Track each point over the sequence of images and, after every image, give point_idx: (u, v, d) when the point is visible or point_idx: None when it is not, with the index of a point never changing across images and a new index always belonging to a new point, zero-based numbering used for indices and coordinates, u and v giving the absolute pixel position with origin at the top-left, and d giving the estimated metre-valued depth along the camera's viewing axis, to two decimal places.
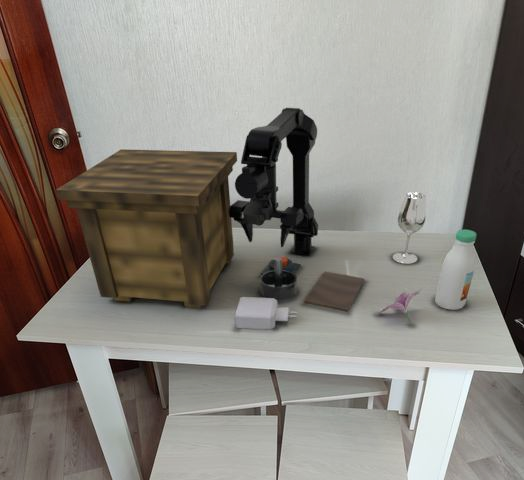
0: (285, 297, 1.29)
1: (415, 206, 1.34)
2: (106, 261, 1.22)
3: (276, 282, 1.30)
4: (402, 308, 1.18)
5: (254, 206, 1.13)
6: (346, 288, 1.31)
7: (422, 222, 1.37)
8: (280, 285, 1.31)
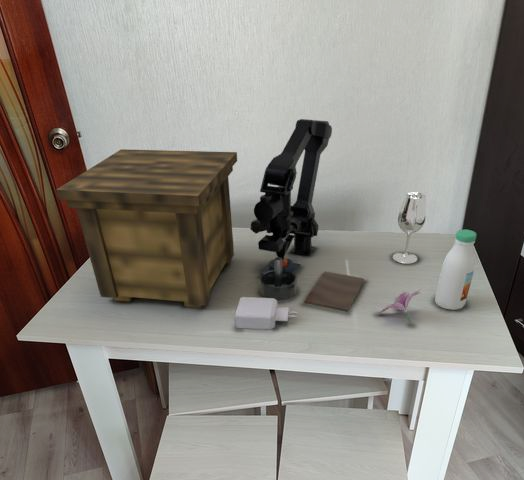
0: (285, 297, 1.29)
1: (415, 206, 1.34)
2: (106, 260, 1.22)
3: (276, 282, 1.30)
4: (402, 308, 1.18)
5: None
6: (346, 288, 1.31)
7: (422, 222, 1.37)
8: (280, 285, 1.31)
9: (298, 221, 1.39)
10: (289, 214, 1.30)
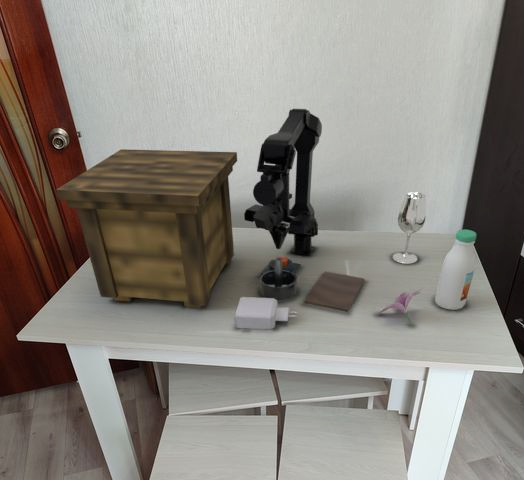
0: (285, 297, 1.29)
1: (415, 206, 1.34)
2: (106, 260, 1.22)
3: (276, 282, 1.30)
4: (402, 308, 1.18)
5: (265, 211, 1.18)
6: (346, 288, 1.31)
7: (422, 222, 1.37)
8: (280, 285, 1.31)
9: None
10: None
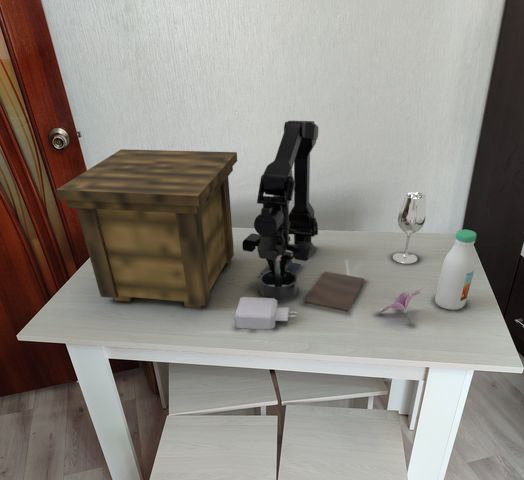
0: (285, 297, 1.29)
1: (415, 206, 1.34)
2: (106, 260, 1.22)
3: (276, 282, 1.30)
4: (402, 308, 1.18)
5: (268, 242, 1.19)
6: (346, 288, 1.31)
7: (422, 222, 1.37)
8: (280, 285, 1.31)
9: None
10: None
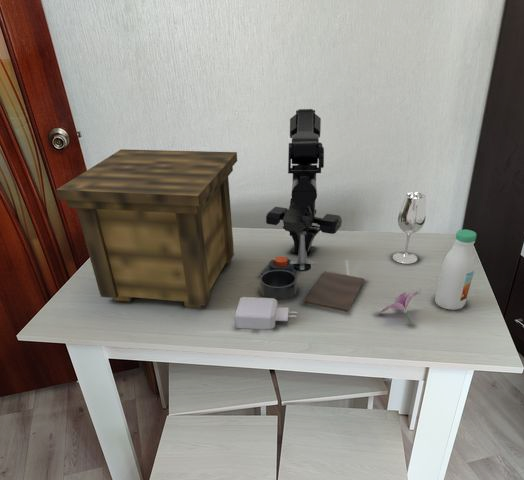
0: (285, 297, 1.29)
1: (415, 206, 1.34)
2: (106, 260, 1.22)
3: (300, 258, 1.25)
4: (402, 308, 1.18)
5: (294, 213, 1.13)
6: (346, 288, 1.31)
7: (422, 222, 1.37)
8: (304, 261, 1.26)
9: None
10: None
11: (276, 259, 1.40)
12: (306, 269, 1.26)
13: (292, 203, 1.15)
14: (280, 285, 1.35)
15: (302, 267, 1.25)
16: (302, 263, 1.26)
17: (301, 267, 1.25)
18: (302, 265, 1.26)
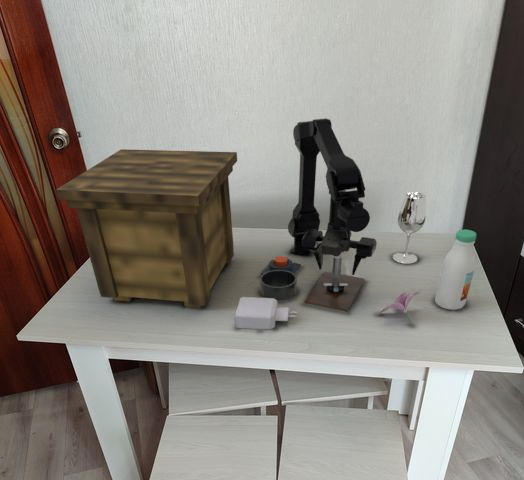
0: (285, 297, 1.29)
1: (415, 206, 1.34)
2: (106, 260, 1.22)
3: (334, 280, 1.29)
4: (402, 308, 1.18)
5: (332, 237, 1.17)
6: (346, 288, 1.31)
7: (422, 222, 1.37)
8: (338, 284, 1.29)
9: None
10: None
11: (276, 259, 1.40)
12: (340, 291, 1.29)
13: (329, 227, 1.18)
14: (280, 285, 1.35)
15: (336, 289, 1.29)
16: (336, 285, 1.30)
17: (335, 289, 1.29)
18: (336, 287, 1.29)
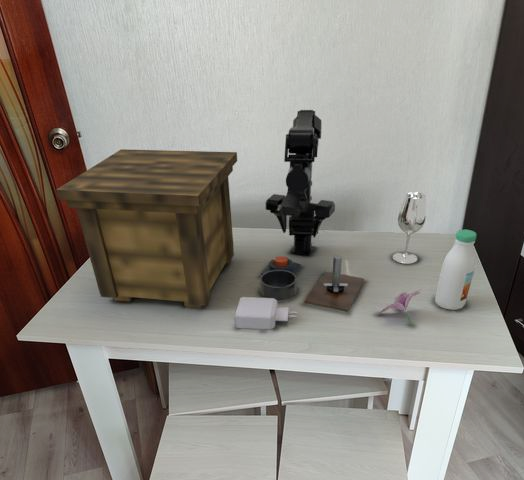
0: (285, 297, 1.29)
1: (415, 206, 1.34)
2: (106, 260, 1.22)
3: (334, 280, 1.29)
4: (402, 308, 1.18)
5: (291, 199, 1.24)
6: (346, 288, 1.31)
7: (422, 222, 1.37)
8: (338, 284, 1.29)
9: None
10: None
11: (276, 259, 1.40)
12: (340, 291, 1.29)
13: (289, 190, 1.25)
14: (280, 285, 1.35)
15: (336, 289, 1.29)
16: (336, 285, 1.30)
17: (335, 289, 1.29)
18: (336, 287, 1.29)
